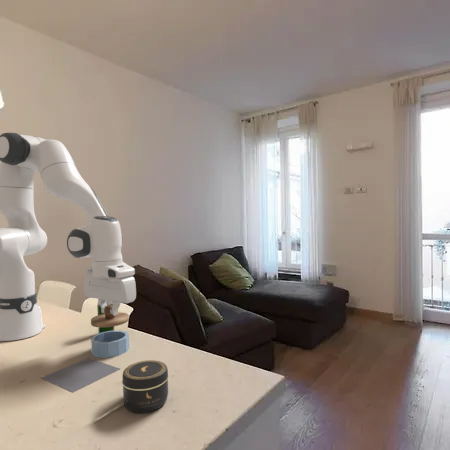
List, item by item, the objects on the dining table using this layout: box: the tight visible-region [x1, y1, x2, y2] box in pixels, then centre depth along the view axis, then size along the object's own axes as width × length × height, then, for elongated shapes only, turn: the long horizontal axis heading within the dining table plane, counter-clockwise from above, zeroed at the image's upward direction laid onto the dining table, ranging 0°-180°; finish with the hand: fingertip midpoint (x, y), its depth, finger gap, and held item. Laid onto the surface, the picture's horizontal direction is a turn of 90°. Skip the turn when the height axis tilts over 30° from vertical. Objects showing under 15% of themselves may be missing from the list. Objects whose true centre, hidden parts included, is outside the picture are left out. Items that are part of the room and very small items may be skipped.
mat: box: [40, 357, 121, 393], centre depth 89 cm, size 14×14×1 cm
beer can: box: [96, 300, 115, 334], centre depth 121 cm, size 5×5×12 cm
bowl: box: [90, 330, 130, 359], centre depth 104 cm, size 11×11×5 cm
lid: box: [90, 305, 130, 328], centre depth 104 cm, size 11×11×5 cm
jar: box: [121, 359, 169, 414], centre depth 76 cm, size 10×10×8 cm
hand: (109, 313), depth 104 cm, fingers closed on lid, 3 cm apart
